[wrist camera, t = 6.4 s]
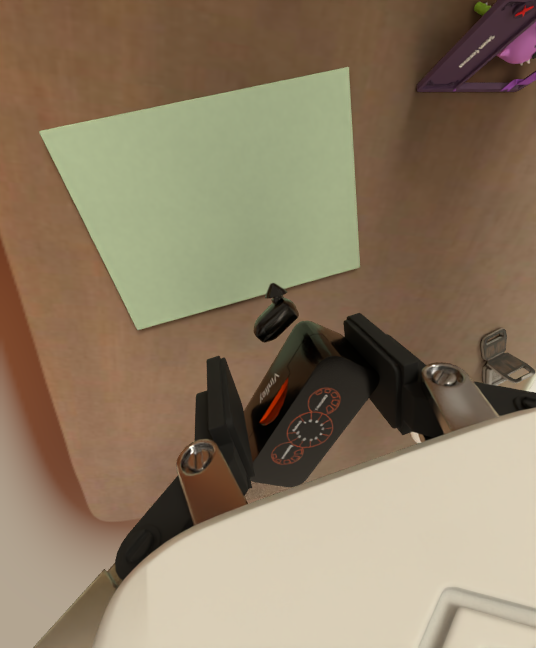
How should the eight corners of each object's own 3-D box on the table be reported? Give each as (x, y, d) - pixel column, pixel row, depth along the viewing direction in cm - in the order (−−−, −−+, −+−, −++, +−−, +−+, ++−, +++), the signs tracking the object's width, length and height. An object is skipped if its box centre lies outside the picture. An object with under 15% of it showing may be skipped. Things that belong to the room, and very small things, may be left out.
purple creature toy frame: (510, 12, 14) (646, 19, 15) (509, -112, 13) (651, -91, 15) (415, 102, 20) (517, 102, 22) (412, 22, 20) (517, 27, 21)
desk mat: (41, 132, 17) (38, 131, 17) (346, 68, 19) (349, 66, 19) (138, 328, 24) (137, 330, 23) (357, 266, 26) (360, 267, 25)
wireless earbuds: (355, 318, 13) (400, 357, 10) (280, 431, 15) (299, 489, 12) (268, 276, 11) (290, 309, 8) (197, 411, 13) (195, 473, 10)
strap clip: (502, 375, 37) (537, 396, 33) (482, 386, 37) (514, 408, 33) (502, 325, 33) (541, 343, 29) (479, 337, 33) (515, 356, 29)
